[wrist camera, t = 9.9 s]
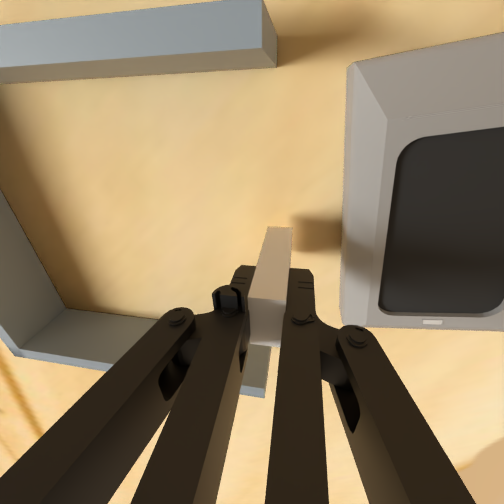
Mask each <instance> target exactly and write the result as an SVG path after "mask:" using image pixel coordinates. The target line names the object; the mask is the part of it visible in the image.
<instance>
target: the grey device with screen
mask: <svg viewBox="0 0 504 504" xmlns="http://www.w3.org/2000/svg"><path fill="white" fill-rule="evenodd" d="M339 307H340V313H341V319H342V323H343V324H344V325H345V326H346V325H358V326H361V327H377V328H408V329H440V330H472V331H504V32H502V33H497V34H492V35H487V36H482V37H477V38H472V39H467V40H462V41H457V42H452V43H447V44H442V45H437V46H432V47H427V48H422V49H417V50H412V51H407V52H402V53H397V54H392V55H387V56H382V57H377V58H372V59H367V60H362V61H357V62H353V63H352V64H351V65H350V66H349V67H348V68H347V80H346V112H345V143H344V175H343V206H342V238H341V270H340V301H339Z"/></svg>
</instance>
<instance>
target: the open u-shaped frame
mask: <svg viewBox="0 0 504 504" xmlns="http://www.w3.org/2000/svg"><path fill="white" fill-rule="evenodd" d="M275 67H277V33H276V31H275V28H274V26H273V23H272V21H271V18H270V16H269V13H268V11H267V8H266V6H265V3H264V1H263V0H223V1H214V2H205V3H196V4H187V5H178V6H168V7H159V8H150V9H141V10H132V11H123V12H114V13H105V14H96V15H87V16H78V17H69V18H60V19H51V20H42V21H33V22H24V23H15V24H6V25H0V84H11V83H27V82H44V81H60V80H77V79H93V78H110V77H127V76H143V75H160V74H176V73H193V72H209V71H226V70H242V69H259V68H275ZM157 321H158V320H156V319H148V318H140V317H132V316H124V315H115V314H107V313H99V312H91V311H83V310H75V309H67V308H66V307H65V305H64V303H63V301H62V300H61V298H60V296H59V294H58V292H57V291H56V289H55V287H54V285H53V283H52V282H51V280H50V278H49V276H48V274H47V273H46V271H45V269H44V267H43V265H42V264H41V262H40V260H39V258H38V256H37V255H36V253H35V251H34V249H33V247H32V246H31V244H30V242H29V240H28V238H27V236H26V235H25V233H24V231H23V229H22V227H21V226H20V224H19V222H18V220H17V218H16V217H15V215H14V213H13V211H12V209H11V208H10V206H9V204H8V202H7V200H6V199H5V197H4V195H3V193H2V191H1V190H0V338H1V339H2V341H3V342H4V343H5V344H6V346H7V347H8V348H9V349H10V351H11V352H12V353H13V354H14V356H17V357H23V358H29V359H35V360H41V361H47V362H53V363H59V364H65V365H71V366H77V367H82V368H88V369H94V370H100V371H106V372H107V371H108V370H109V369H110V368H111V367H112V366H113V365H114V364H115V363H116V362H117V361H118V360H119V359H120V358H121V357H122V356H123V355H124V354H125V353H126V352H127V351H128V350H129V349H130V348H131V347H132V346H133V345H134V344H135V343H136V342H137V341H138V340H139V339H140V338H141V337H142V336H143V335H144V334H145V333H146V332H147V331H148V330H149V329H150V328H151V327H152V326H153V325H154V324H155V323H156V322H157ZM271 347H272V346H265V345H257V344H250V338H249V343H248V357H247V362H246V366H245V371H244V375H243V380H242V385H241V389H240V394H242V395H248V396H254V397H260V398H265V391H266V383H267V376H268V369H269V361H270V354H271Z"/></svg>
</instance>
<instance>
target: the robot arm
mask: <svg viewBox="0 0 504 504" xmlns="http://www.w3.org/2000/svg"><path fill="white" fill-rule="evenodd" d="M292 229H293V228H290V227H268V228H267V232H266V235H265V239H264V242H263V245H262V249H261V252H260V256H259V259H258V263H257V266H246V265H241V266H240V267H239V268H238V269H237V270H235V273H234V275H233V278H232V280H231V283H230V285H225V286H221V287H219V288H217V289H216V290H215V291H214V292H213V293H212V299H213V305H214V311H212V312H209V313H204V314H198V315H194V314H193V312H192V310H190V309H188V308H183V307H180V308H175V309H172V310H170V311H168V312H167V313H166V314H164V315H163V316H162V317H161V318H160V319H159V320H158V321H157V322H156V323H155V324H154V325H153V326H152V327H151V328H150V329H149V330H148V331H147V332H146V333H145V334H144V335H143V336H142V337H141V338H140V339H139V340H138V341H137V342H136V343H135V344H134V345H133V346H132V347H131V348H130V349H129V350H128V351H127V352H126V353H125V354H124V355H123V356H122V357H121V358H120V359H119V360H118V361H117V362H116V363H115V364H114V365H113V366H112V367H111V368H110V369H109V370H108V371H107V372H106V373H105V374H104V375H103V376H102V377H101V378H100V379H99V380H98V381H97V382H96V383H95V384H94V385H93V386H92V387H91V388H90V389H89V390H88V391H87V392H86V393H85V394H84V395H83V396H82V397H81V398H80V399H79V400H78V401H77V402H76V403H75V404H74V405H73V406H72V407H71V408H70V409H69V410H68V411H67V412H66V413H65V414H64V415H63V416H62V417H61V418H60V419H59V420H58V421H57V422H56V423H55V424H54V425H53V426H52V427H51V428H50V429H49V430H48V431H47V432H46V433H45V434H44V435H43V436H42V437H41V438H40V439H39V440H38V441H37V442H36V443H35V444H34V445H33V446H32V447H31V448H30V449H29V450H28V451H27V452H26V453H25V454H24V455H23V456H22V457H21V458H20V459H19V460H18V461H17V462H16V463H15V464H14V465H13V466H12V467H11V468H10V469H9V470H8V471H7V472H6V473H5V474H4V475H3V476H2V477H1V478H0V504H108V502H109V501H110V499H111V498H112V496H113V495H114V493H115V492H116V490H117V489H118V487H119V486H120V484H121V483H122V481H123V480H124V478H125V477H126V475H127V474H128V472H129V471H130V470H131V468H132V467H133V465H134V464H135V462H136V461H137V459H138V458H139V456H140V455H141V453H142V452H143V450H144V449H145V447H146V446H147V444H148V443H149V441H150V440H151V438H152V437H153V435H154V434H155V432H156V431H157V429H158V428H159V427H160V425H161V424H162V422H163V421H164V419H165V418H166V416H167V415H168V413H169V412H170V413H169V415H168V418H167V420H166V422H165V425H164V427H163V429H162V432H161V434H160V436H159V439H158V441H157V443H156V446H155V448H154V450H153V452H152V455H151V457H150V459H149V462H148V464H147V466H146V469H145V471H144V473H143V476H142V478H141V480H140V483H139V485H138V487H137V490H136V492H135V494H134V497H133V499H132V501H131V504H216V499H217V494H218V490H219V485H220V481H221V476H222V472H223V467H224V462H225V458H226V453H227V449H228V444H229V440H230V435H231V430H232V426H233V421H234V417H235V412H236V407H237V403H238V398H239V394H240V389H241V385H242V380H243V375H244V371H245V366H246V362H247V357H248V343H249V338H250V344H257V345H265V346H273V347H280V356H279V366H278V376H277V386H276V396H275V406H274V416H273V426H272V436H271V446H270V456H269V466H268V476H267V486H266V496H265V504H329V497H328V480H327V464H326V447H325V430H324V414H323V397H322V381H321V379H323V380H325V381H327V382H329V385H330V388H331V391H332V394H333V397H334V400H335V403H336V406H337V409H338V412H339V415H340V418H341V421H342V424H343V427H344V430H345V433H346V436H347V439H348V442H349V445H350V448H351V451H352V453H353V456H354V459H355V462H356V465H357V468H358V471H359V474H360V477H361V480H362V483H363V486H364V489H365V492H366V495H367V498H368V501H369V504H476V503H475V501H474V500H473V498H472V496H471V494H470V493H469V491H468V490H467V488H466V486H465V485H464V483H463V481H462V480H461V478H460V476H459V475H458V473H457V471H456V470H455V468H454V466H453V465H452V463H451V461H450V460H449V458H448V456H447V455H446V453H445V452H444V450H443V448H442V447H441V445H440V443H439V442H438V440H437V438H436V437H435V435H434V433H433V432H432V430H431V428H430V427H429V425H428V423H427V422H426V420H425V419H424V417H423V415H422V414H421V412H420V410H419V409H418V407H417V405H416V404H415V402H414V400H413V399H412V397H411V395H410V394H409V392H408V390H407V389H406V387H405V385H404V384H403V382H402V381H401V379H400V377H399V376H398V374H397V372H396V371H395V369H394V367H393V366H392V364H391V362H390V361H389V359H388V357H387V356H386V354H385V352H384V351H383V349H382V347H381V346H380V344H379V343H378V341H377V339H376V338H375V336H374V335H373V334H372V333H371V332H370V331H368V330H367V329H365V328H363V327H361V326H358V325H346V326H343V327H342V328H341V329H336V328H334V327H331V326H329V325H327V324H325V323H323V322H322V321H321V320H320V319H319V318H318V316H317V315H316V311H315V295H314V277H313V274H312V273H311V272H310V270H309V269H296V268H290V264H291V247H292ZM170 410H171V411H170Z"/></svg>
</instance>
